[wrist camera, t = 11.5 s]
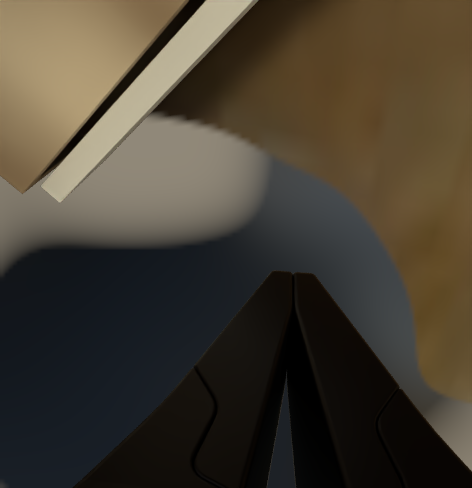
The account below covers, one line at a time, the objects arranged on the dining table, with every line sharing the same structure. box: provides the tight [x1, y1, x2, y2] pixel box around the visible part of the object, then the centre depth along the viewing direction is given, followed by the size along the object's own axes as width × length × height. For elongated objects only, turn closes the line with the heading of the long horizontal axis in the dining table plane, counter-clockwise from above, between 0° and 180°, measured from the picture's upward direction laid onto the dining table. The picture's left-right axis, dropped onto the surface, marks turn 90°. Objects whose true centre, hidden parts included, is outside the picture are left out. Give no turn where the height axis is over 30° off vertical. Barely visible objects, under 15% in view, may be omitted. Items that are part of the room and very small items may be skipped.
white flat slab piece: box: [41, 0, 258, 203], centre depth 14 cm, size 18×1×5 cm, turn 133°
